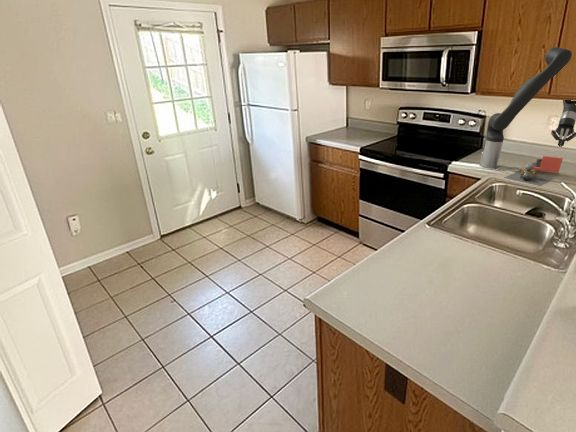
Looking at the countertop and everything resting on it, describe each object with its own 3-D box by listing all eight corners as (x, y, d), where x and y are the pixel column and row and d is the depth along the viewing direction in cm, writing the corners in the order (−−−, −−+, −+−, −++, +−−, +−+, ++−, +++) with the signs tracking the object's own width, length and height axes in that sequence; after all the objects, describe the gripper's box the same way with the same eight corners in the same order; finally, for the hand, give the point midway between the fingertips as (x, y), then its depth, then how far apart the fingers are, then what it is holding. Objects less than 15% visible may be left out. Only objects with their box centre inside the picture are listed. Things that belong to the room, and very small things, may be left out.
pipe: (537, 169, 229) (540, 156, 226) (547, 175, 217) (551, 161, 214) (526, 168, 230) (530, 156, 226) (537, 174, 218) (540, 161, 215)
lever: (524, 169, 208) (528, 155, 205) (524, 167, 211) (528, 153, 208) (558, 173, 200) (562, 158, 197) (558, 171, 203) (562, 157, 200)
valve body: (519, 180, 206) (521, 171, 204) (520, 173, 218) (522, 165, 216) (532, 182, 203) (535, 173, 201) (532, 174, 215) (535, 166, 213)
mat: (503, 179, 211) (503, 177, 210) (518, 172, 223) (519, 171, 222) (540, 187, 197) (540, 186, 197) (554, 179, 209) (555, 178, 209)
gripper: (554, 116, 214) (547, 140, 210) (583, 118, 207) (576, 143, 203) (552, 124, 220) (545, 148, 216) (580, 126, 213) (573, 151, 209)
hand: (560, 145), depth 209 cm, fingers closed
